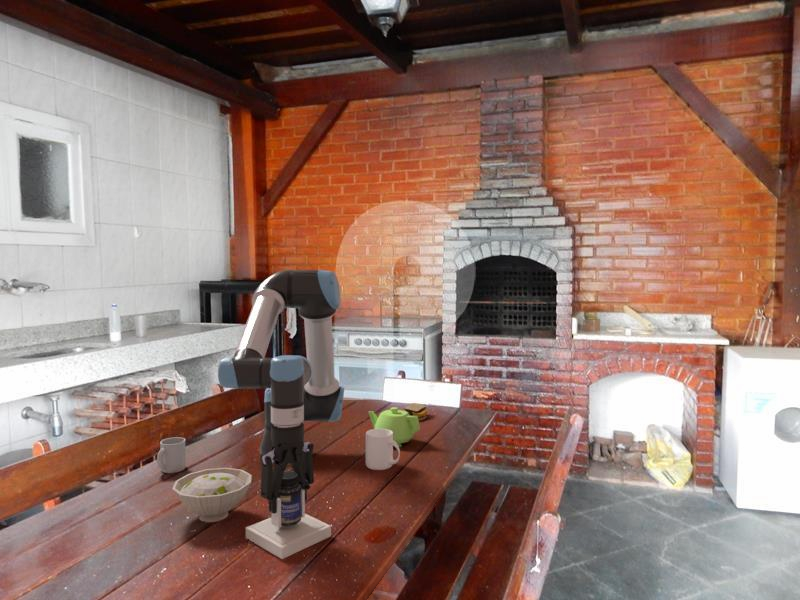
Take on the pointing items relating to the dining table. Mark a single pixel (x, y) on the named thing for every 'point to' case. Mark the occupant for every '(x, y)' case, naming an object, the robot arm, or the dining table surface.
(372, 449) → the mug
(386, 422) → the teapot
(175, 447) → the cup
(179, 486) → the bowl
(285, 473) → the pill bottle
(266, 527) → the square plate
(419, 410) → the toy sandwich meal
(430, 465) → the dining table surface
